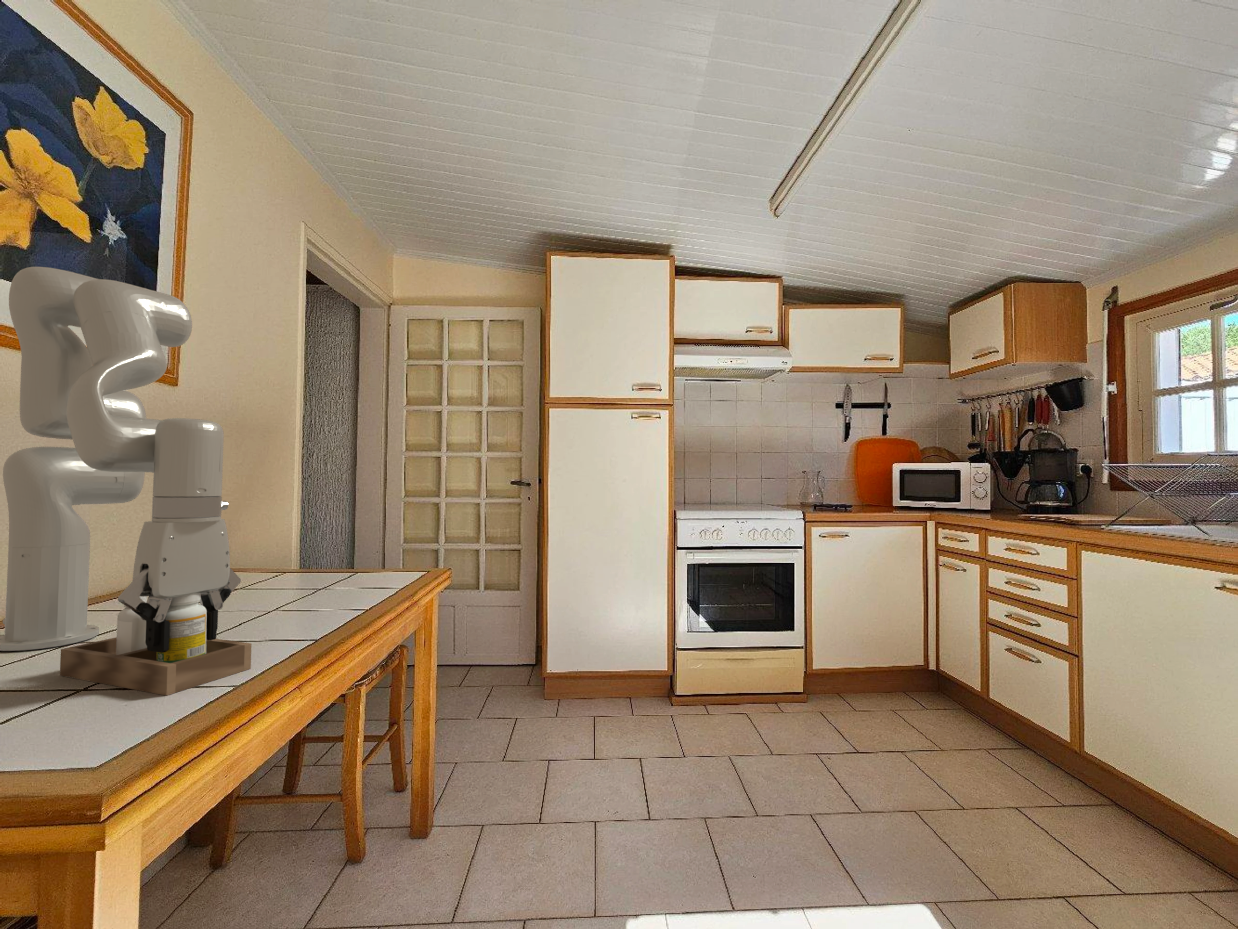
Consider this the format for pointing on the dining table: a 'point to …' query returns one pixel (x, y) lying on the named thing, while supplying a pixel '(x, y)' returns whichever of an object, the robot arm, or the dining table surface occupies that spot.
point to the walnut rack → (153, 666)
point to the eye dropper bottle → (130, 631)
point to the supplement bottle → (185, 629)
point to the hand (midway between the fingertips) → (182, 643)
